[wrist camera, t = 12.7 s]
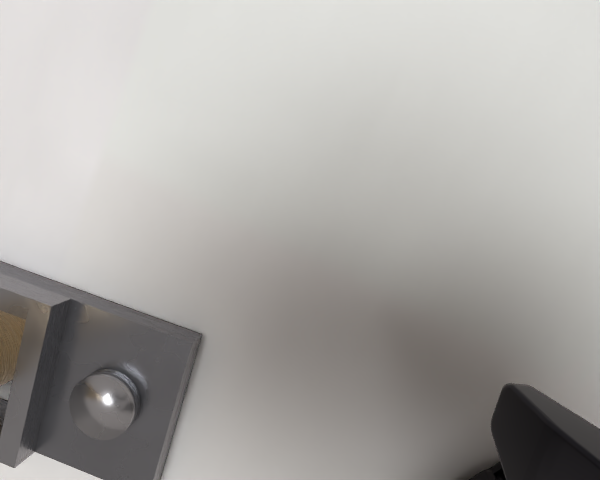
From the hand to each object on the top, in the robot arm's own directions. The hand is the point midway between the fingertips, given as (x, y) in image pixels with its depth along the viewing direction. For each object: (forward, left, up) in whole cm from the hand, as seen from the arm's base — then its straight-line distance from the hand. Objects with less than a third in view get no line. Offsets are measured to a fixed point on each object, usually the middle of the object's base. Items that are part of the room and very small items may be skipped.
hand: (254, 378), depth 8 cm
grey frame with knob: (+7, +15, -12) cm, 21 cm away
